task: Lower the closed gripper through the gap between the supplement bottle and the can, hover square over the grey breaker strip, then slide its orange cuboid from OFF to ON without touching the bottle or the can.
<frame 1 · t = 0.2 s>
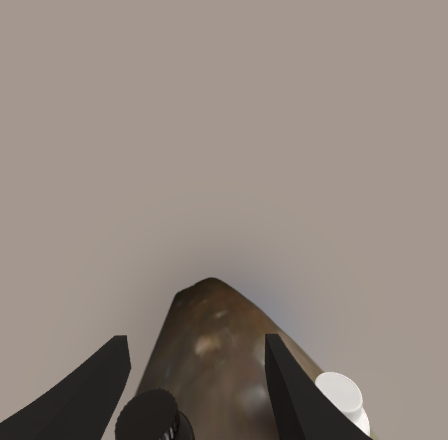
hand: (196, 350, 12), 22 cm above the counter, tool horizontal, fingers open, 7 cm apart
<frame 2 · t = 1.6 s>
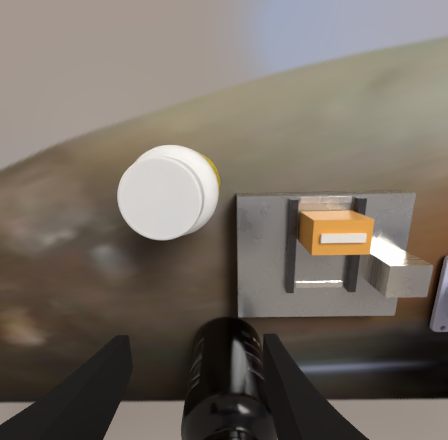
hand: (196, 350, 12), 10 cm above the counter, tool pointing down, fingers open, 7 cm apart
supplement bottle 2: (190, 182, 21), on the counter
supplement bottle: (228, 341, 24), on the counter
orange cuboid: (333, 231, 17), point 4 cm above the counter, slide at 0.0 cm
breaker strip: (312, 250, 22), on the counter
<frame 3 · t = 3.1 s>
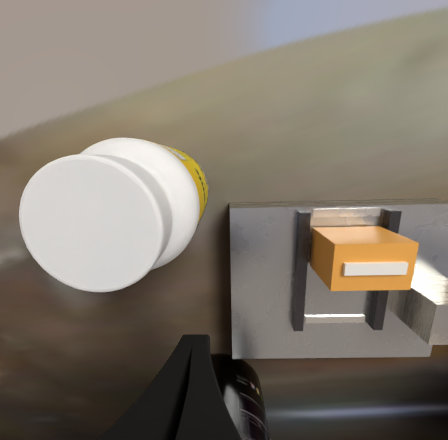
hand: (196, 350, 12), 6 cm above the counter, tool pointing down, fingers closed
supplement bottle 2: (171, 189, 16), on the counter
supplement bottle: (220, 381, 20), on the counter
orange cuboid: (358, 256, 13), point 4 cm above the counter, slide at 0.0 cm
breaker strip: (325, 274, 17), on the counter
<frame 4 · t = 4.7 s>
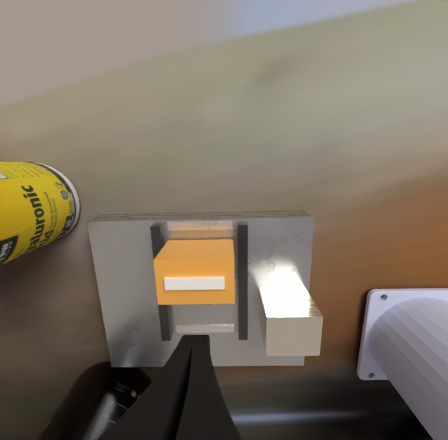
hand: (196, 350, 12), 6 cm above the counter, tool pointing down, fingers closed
supplement bottle 2: (46, 201, 16), on the counter
supplement bottle: (119, 387, 20), on the counter
orange cuboid: (198, 269, 13), point 4 cm above the counter, slide at 0.0 cm
breaker strip: (206, 283, 18), on the counter
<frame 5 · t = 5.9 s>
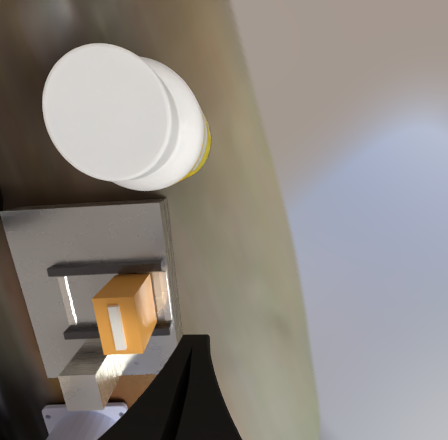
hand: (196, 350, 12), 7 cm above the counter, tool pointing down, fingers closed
supplement bottle 2: (175, 141, 17), on the counter
orange cuboid: (127, 312, 16), point 4 cm above the counter, slide at 0.0 cm
breaker strip: (110, 285, 19), on the counter
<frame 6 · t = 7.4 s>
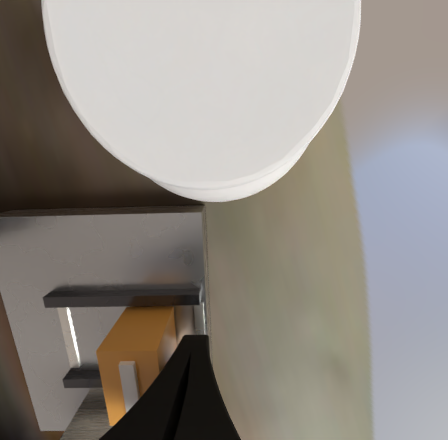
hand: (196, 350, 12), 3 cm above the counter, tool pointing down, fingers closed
supplement bottle 2: (220, 130, 13), on the counter
orange cuboid: (143, 362, 11), point 4 cm above the counter, slide at 0.5 cm, touching gripper
breaker strip: (125, 314, 15), on the counter
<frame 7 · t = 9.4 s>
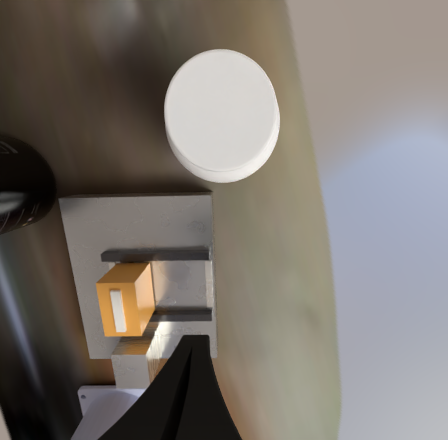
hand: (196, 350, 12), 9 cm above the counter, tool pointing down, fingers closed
supplement bottle 2: (224, 138, 18), on the counter
supplement bottle: (20, 183, 19), on the counter
orange cuboid: (128, 298, 17), point 4 cm above the counter, slide at 3.6 cm
breaker strip: (152, 273, 20), on the counter
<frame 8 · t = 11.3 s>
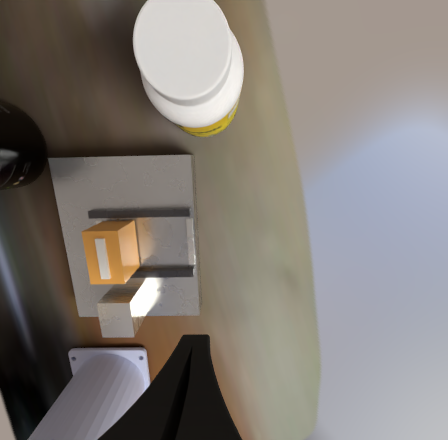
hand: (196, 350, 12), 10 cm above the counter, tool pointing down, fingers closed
supplement bottle 2: (204, 104, 19), on the counter
supplement bottle: (12, 147, 20), on the counter
orange cuboid: (113, 251, 18), point 4 cm above the counter, slide at 3.6 cm
breaker strip: (138, 235, 21), on the counter
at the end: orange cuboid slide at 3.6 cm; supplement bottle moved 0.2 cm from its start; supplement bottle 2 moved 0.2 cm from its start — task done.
